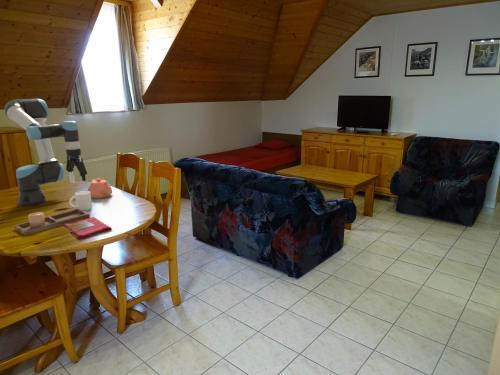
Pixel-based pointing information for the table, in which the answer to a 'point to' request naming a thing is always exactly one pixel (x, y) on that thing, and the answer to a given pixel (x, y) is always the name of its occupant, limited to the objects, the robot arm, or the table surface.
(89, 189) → the teapot
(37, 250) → the table surface
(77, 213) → the caddy
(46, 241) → the table surface
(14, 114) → the robot arm
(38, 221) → the peach rounded cylinder
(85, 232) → the dish towel
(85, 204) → the mug
